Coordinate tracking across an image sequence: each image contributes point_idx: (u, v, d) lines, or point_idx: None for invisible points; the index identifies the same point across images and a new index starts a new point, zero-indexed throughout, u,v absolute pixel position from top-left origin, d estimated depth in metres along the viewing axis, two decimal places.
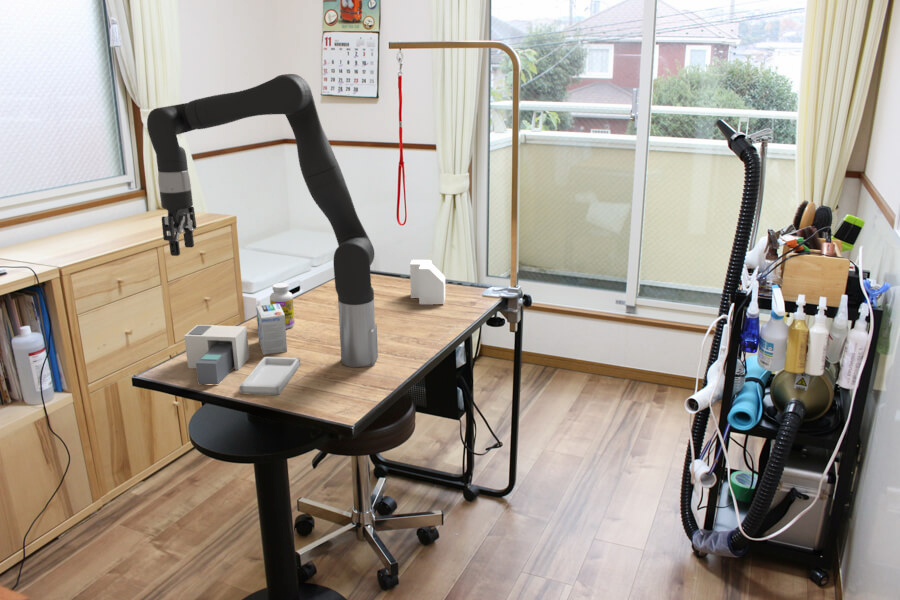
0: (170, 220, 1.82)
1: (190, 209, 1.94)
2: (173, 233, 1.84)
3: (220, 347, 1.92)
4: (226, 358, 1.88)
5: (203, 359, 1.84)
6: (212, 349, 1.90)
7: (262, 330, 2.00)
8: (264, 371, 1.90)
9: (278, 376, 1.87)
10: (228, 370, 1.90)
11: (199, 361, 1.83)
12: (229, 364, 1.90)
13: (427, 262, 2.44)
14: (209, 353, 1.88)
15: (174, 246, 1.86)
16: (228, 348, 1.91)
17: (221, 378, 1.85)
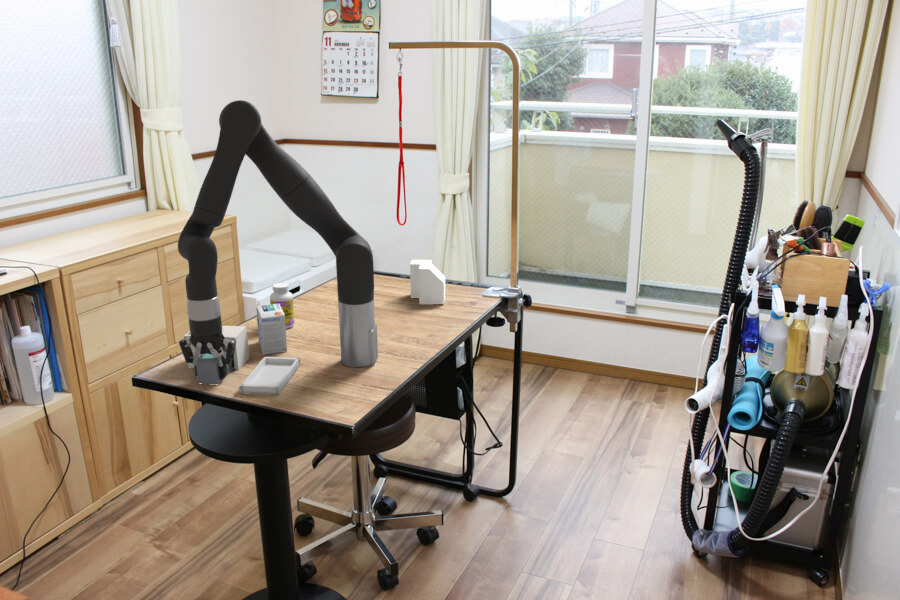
0: None
1: None
2: None
3: None
4: None
5: (203, 358, 1.84)
6: None
7: (262, 330, 2.00)
8: (264, 371, 1.90)
9: (278, 376, 1.87)
10: (228, 369, 1.90)
11: (199, 360, 1.83)
12: None
13: (427, 262, 2.44)
14: None
15: (226, 368, 1.85)
16: None
17: None
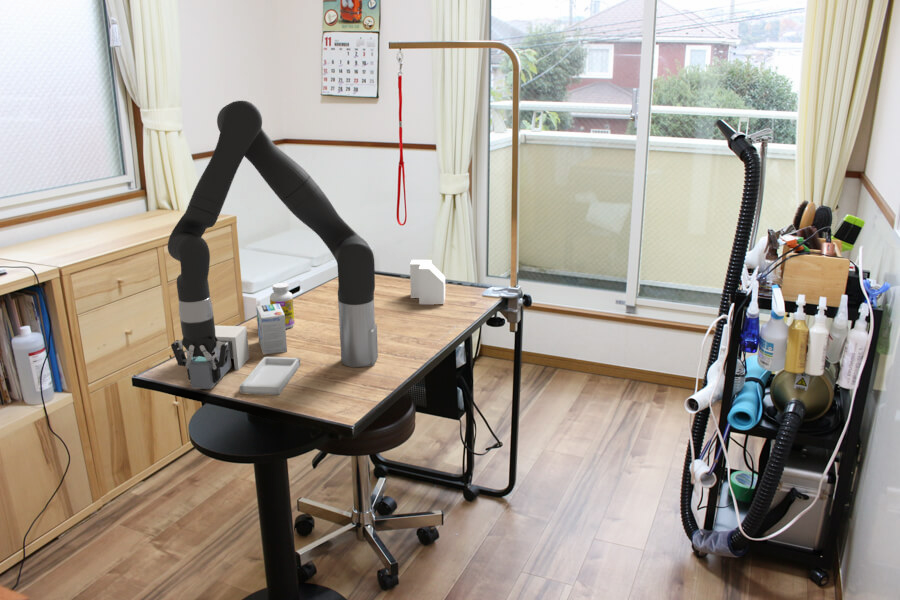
0: (228, 345, 1.78)
1: None
2: None
3: None
4: None
5: (196, 361, 1.79)
6: None
7: (262, 330, 2.00)
8: (264, 371, 1.90)
9: (278, 376, 1.87)
10: (222, 372, 1.85)
11: (192, 363, 1.78)
12: (223, 366, 1.86)
13: (427, 262, 2.44)
14: None
15: (219, 371, 1.80)
16: None
17: None
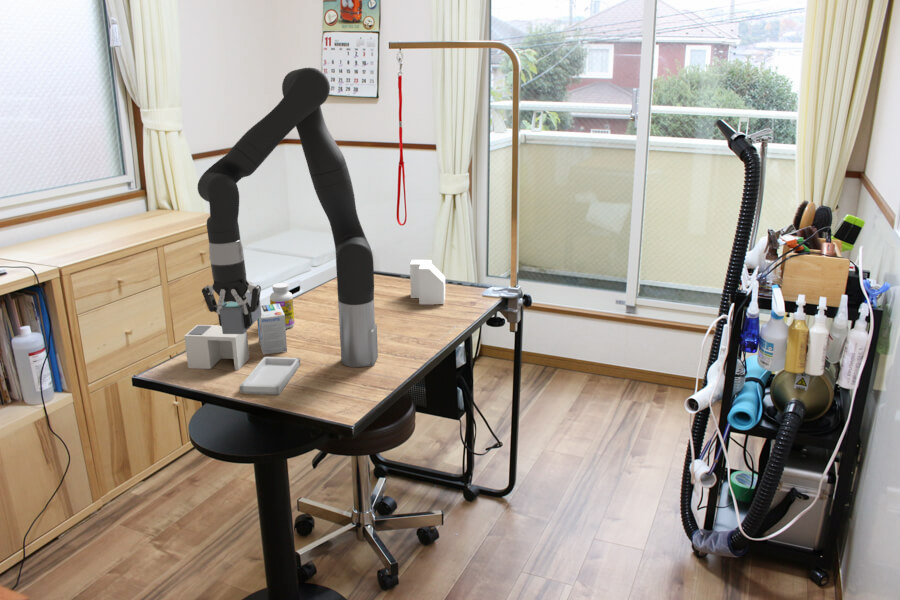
0: None
1: None
2: None
3: None
4: None
5: (227, 306, 1.76)
6: None
7: (262, 330, 2.00)
8: (264, 371, 1.90)
9: (278, 376, 1.87)
10: (253, 319, 1.82)
11: (223, 308, 1.75)
12: (254, 313, 1.82)
13: (427, 262, 2.44)
14: None
15: (251, 316, 1.77)
16: None
17: None
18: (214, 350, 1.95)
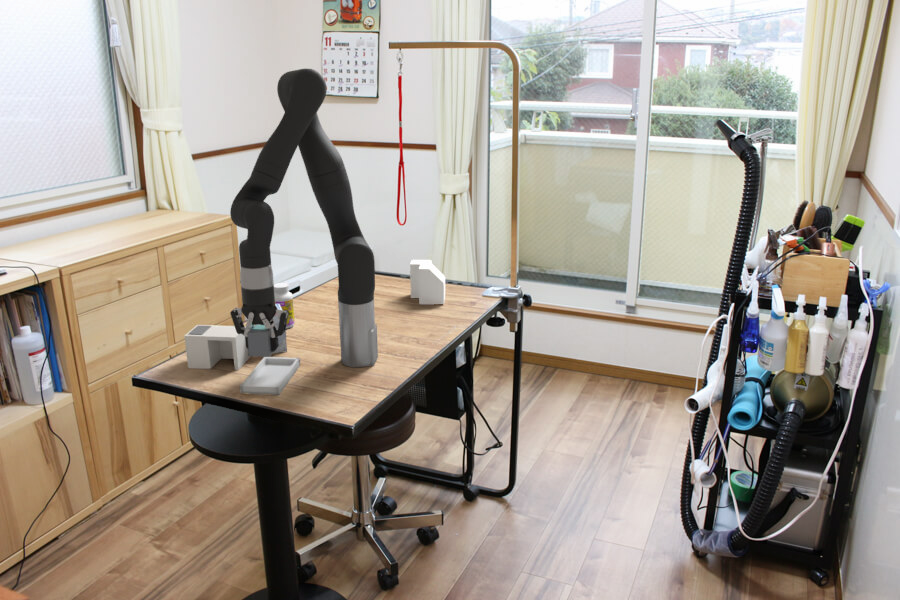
0: None
1: None
2: None
3: None
4: (277, 329, 1.83)
5: (254, 329, 1.78)
6: None
7: None
8: (264, 371, 1.90)
9: (278, 376, 1.87)
10: (279, 341, 1.85)
11: (250, 331, 1.77)
12: (279, 336, 1.85)
13: (427, 262, 2.44)
14: None
15: (277, 340, 1.80)
16: (278, 319, 1.85)
17: None
18: (214, 350, 1.95)
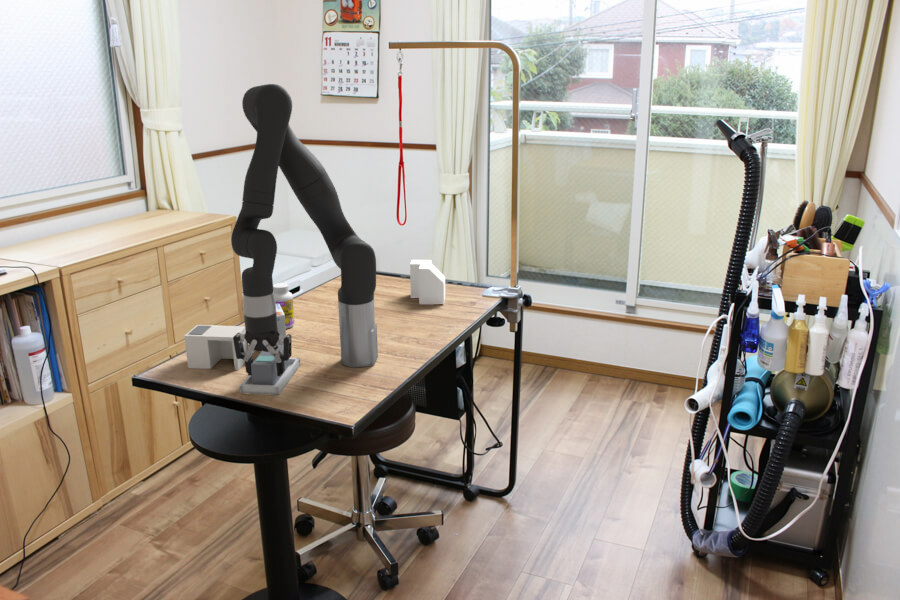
0: None
1: None
2: None
3: None
4: None
5: (258, 361, 1.81)
6: None
7: None
8: None
9: None
10: None
11: (254, 363, 1.80)
12: None
13: (427, 262, 2.44)
14: (263, 354, 1.84)
15: (283, 364, 1.81)
16: (281, 349, 1.88)
17: (275, 380, 1.82)
18: (214, 350, 1.95)
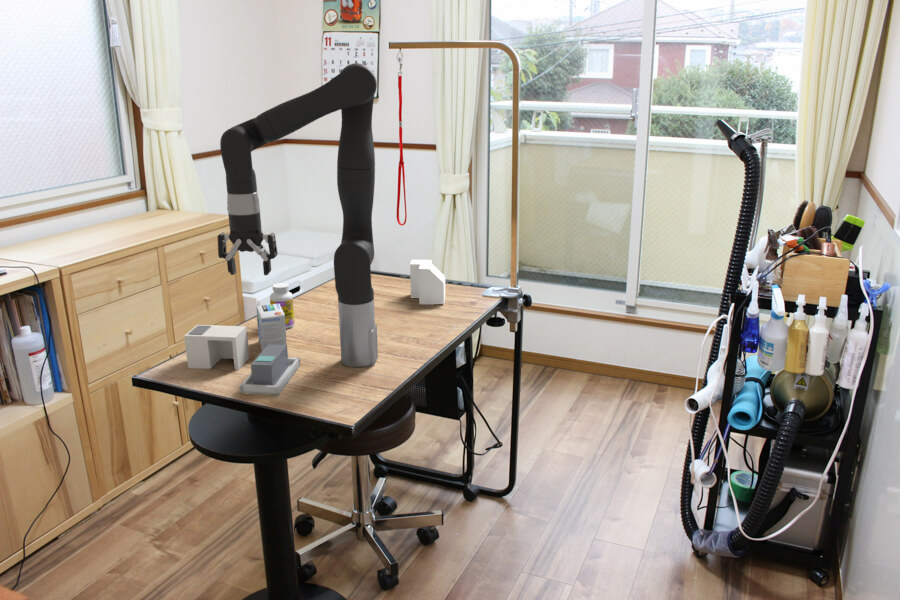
0: (274, 236, 1.84)
1: None
2: None
3: (272, 348, 1.88)
4: (280, 359, 1.85)
5: (258, 361, 1.81)
6: (265, 350, 1.87)
7: (262, 330, 2.00)
8: None
9: None
10: (282, 371, 1.87)
11: (254, 363, 1.80)
12: (282, 366, 1.87)
13: (427, 262, 2.44)
14: (263, 354, 1.84)
15: (270, 264, 1.86)
16: (281, 349, 1.88)
17: (275, 380, 1.82)
18: (214, 350, 1.95)
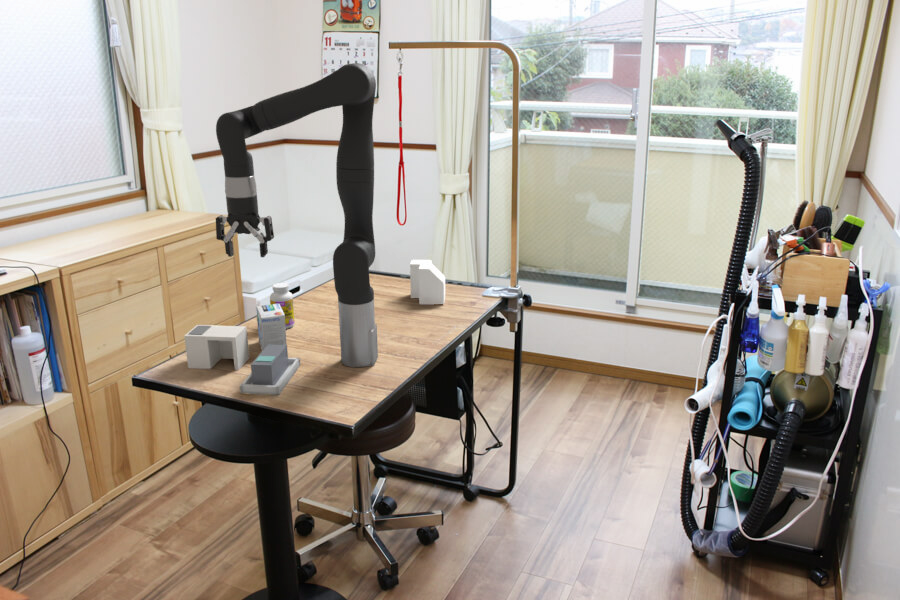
0: (271, 219, 1.88)
1: None
2: None
3: (272, 348, 1.88)
4: (280, 359, 1.85)
5: (258, 361, 1.81)
6: (265, 350, 1.87)
7: (262, 330, 2.00)
8: None
9: None
10: (282, 371, 1.87)
11: (254, 363, 1.80)
12: (282, 366, 1.87)
13: (427, 262, 2.44)
14: (263, 354, 1.84)
15: (266, 246, 1.90)
16: (281, 349, 1.88)
17: (275, 380, 1.82)
18: (214, 350, 1.95)
